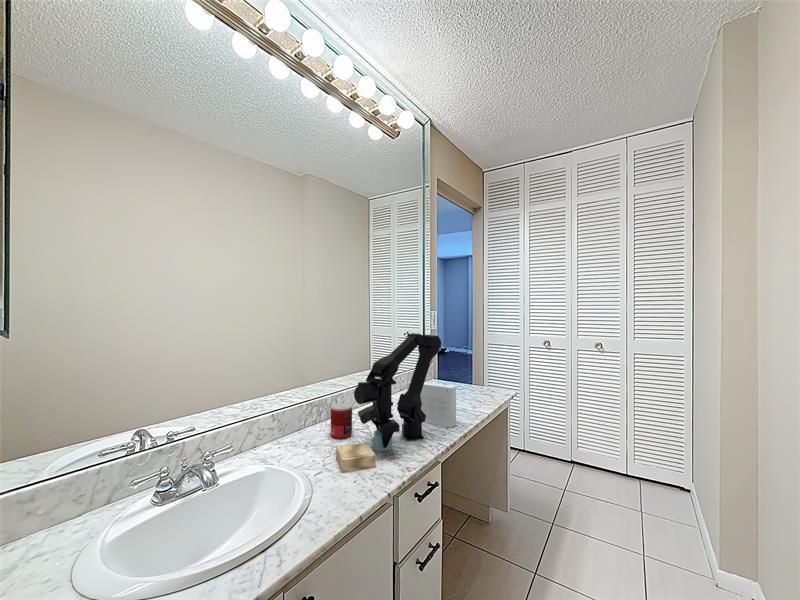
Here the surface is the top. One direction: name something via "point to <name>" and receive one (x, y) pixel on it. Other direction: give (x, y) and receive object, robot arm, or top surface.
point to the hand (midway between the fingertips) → (382, 444)
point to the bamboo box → (355, 457)
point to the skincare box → (438, 404)
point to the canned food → (341, 421)
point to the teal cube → (379, 443)
